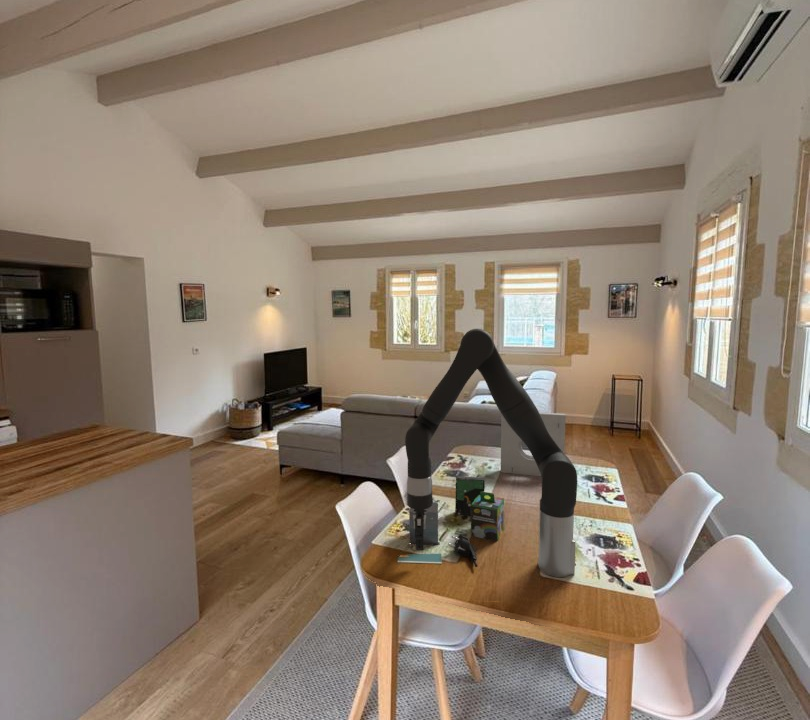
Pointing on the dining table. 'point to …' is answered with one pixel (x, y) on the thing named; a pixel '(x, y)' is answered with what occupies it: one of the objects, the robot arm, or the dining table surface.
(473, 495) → the disk drive
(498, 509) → the chalk box
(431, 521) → the unit
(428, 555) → the mat
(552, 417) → the mounting panel
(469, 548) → the power plug
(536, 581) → the dining table surface
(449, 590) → the dining table surface
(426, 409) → the robot arm
